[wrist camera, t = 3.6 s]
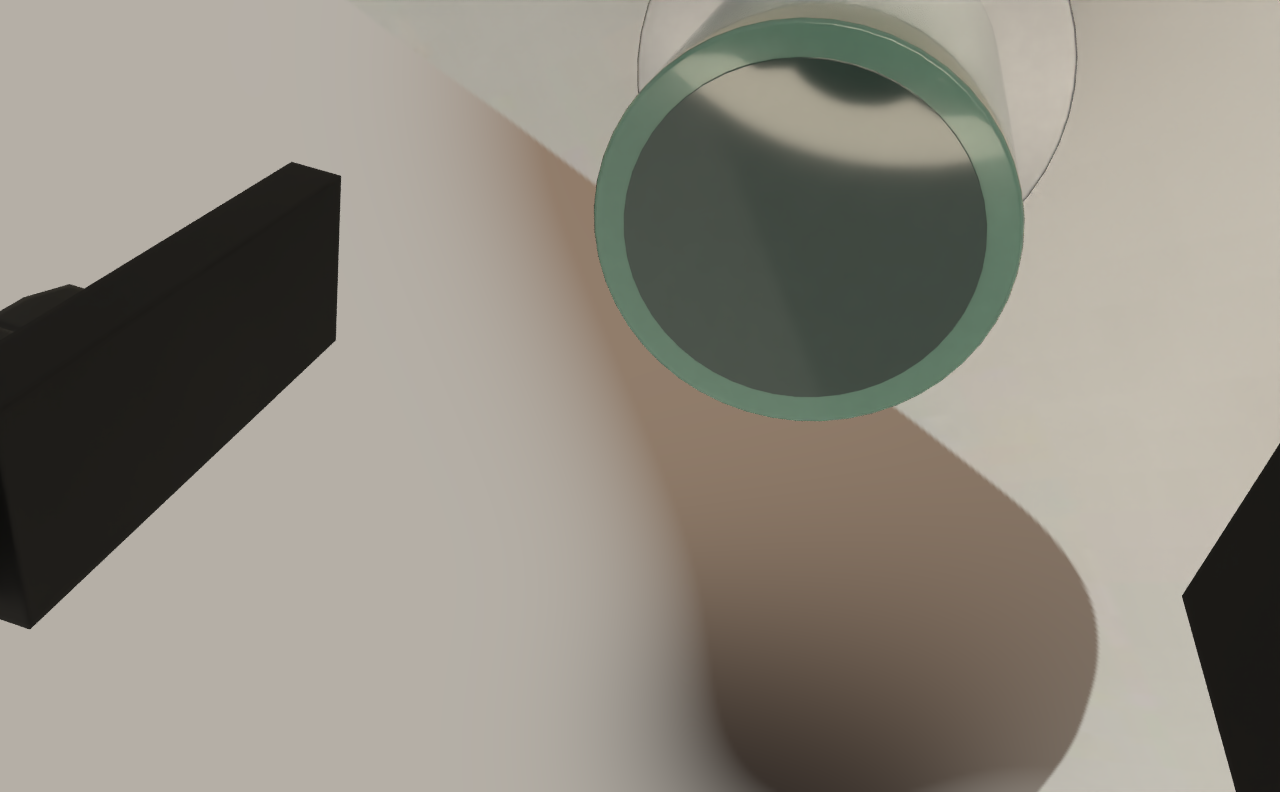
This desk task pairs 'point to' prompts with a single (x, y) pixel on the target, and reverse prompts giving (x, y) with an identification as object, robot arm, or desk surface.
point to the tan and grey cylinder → (1028, 49)
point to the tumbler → (816, 203)
